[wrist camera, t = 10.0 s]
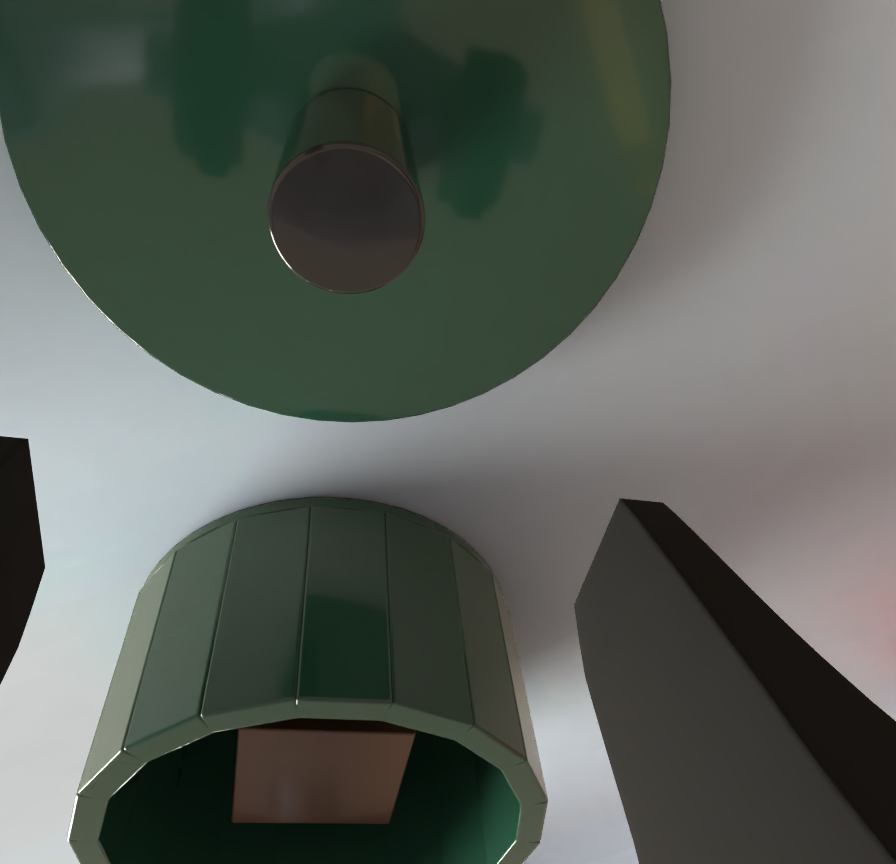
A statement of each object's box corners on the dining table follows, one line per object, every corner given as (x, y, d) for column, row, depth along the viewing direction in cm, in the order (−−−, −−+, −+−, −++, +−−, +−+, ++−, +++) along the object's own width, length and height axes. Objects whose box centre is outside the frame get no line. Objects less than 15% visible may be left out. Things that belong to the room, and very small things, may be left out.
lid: (-94, 180, 15) (-247, 282, 11) (259, -534, 10) (199, -780, 6) (395, 476, 21) (404, 610, 17) (775, 100, 16) (908, 169, 12)
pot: (65, 667, 24) (-17, 885, 19) (277, 425, 19) (247, 625, 14) (359, 775, 29) (359, 971, 24) (581, 604, 24) (641, 799, 19)
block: (249, 687, 25) (230, 823, 21) (257, 592, 22) (237, 728, 19) (385, 692, 25) (389, 824, 22) (407, 602, 23) (416, 734, 19)
